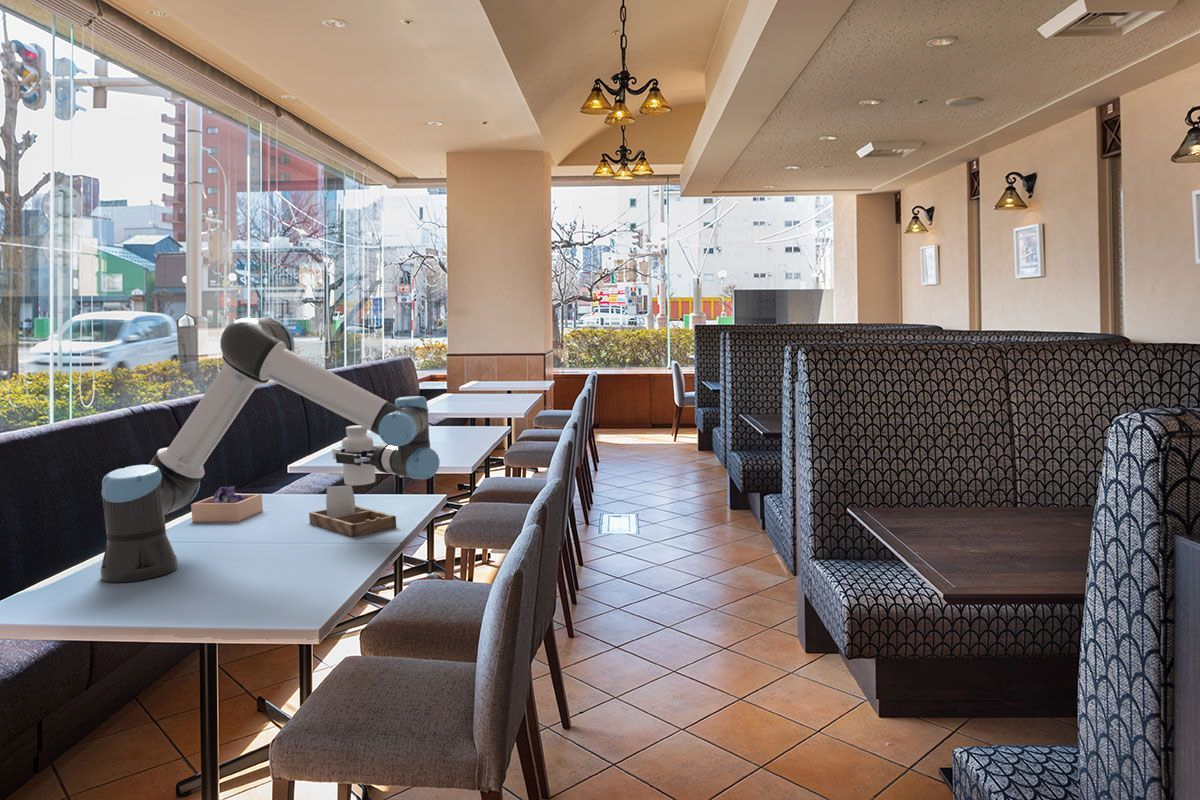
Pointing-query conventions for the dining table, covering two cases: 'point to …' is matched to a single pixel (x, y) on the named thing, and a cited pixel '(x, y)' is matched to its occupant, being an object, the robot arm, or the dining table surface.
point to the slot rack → (354, 521)
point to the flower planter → (226, 509)
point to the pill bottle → (358, 443)
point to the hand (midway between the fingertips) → (349, 451)
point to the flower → (227, 495)
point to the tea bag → (340, 501)
